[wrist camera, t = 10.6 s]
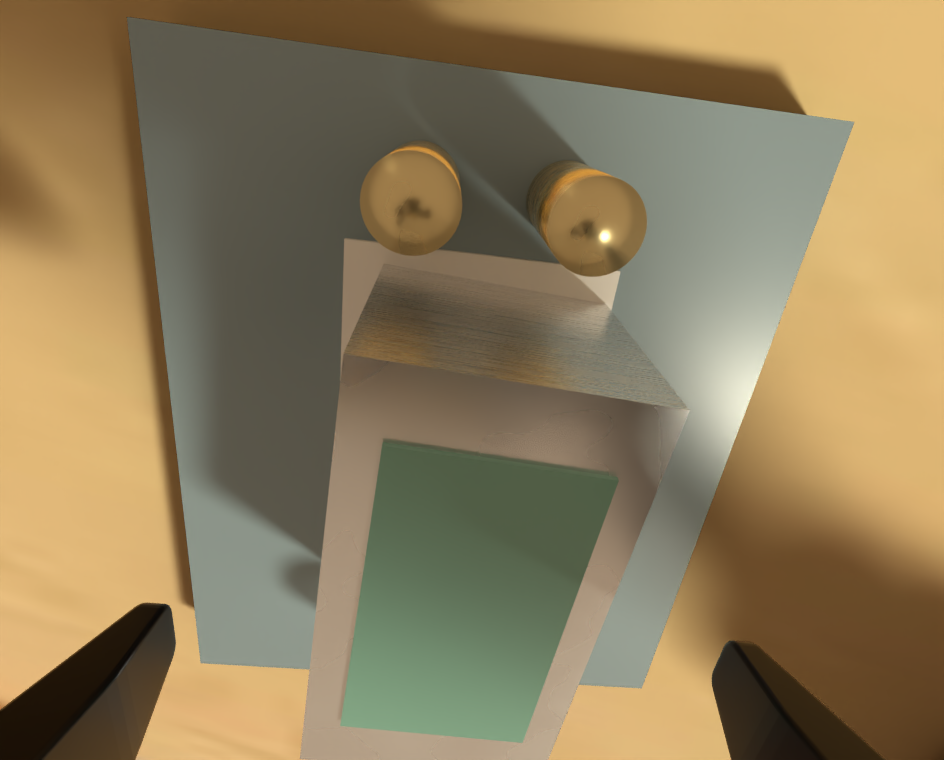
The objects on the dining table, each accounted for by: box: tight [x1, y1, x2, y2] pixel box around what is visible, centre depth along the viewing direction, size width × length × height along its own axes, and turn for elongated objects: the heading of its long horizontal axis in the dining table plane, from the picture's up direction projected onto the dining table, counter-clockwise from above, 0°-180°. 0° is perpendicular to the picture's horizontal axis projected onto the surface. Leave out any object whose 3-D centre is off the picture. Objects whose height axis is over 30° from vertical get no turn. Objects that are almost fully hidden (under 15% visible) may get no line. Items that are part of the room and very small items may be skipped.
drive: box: [300, 263, 690, 760], centre depth 12 cm, size 5×9×5 cm, turn 169°
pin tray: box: [127, 17, 854, 688], centre depth 14 cm, size 14×17×4 cm
